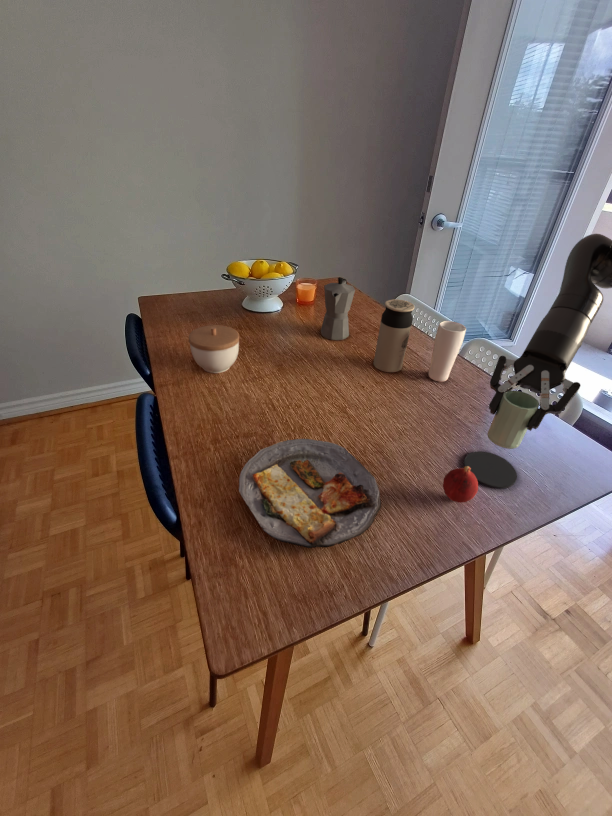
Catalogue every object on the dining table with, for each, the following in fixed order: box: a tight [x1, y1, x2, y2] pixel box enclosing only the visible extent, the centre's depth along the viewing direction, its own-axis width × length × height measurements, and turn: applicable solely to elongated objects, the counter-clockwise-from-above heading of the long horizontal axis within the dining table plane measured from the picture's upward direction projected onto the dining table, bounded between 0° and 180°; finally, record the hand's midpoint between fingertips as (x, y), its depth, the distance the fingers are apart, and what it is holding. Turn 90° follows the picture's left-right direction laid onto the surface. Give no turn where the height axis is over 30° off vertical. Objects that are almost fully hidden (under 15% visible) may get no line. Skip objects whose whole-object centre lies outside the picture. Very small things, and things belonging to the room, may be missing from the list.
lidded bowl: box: [188, 324, 240, 374], centre depth 103 cm, size 13×13×11 cm
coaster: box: [463, 450, 518, 490], centre depth 79 cm, size 10×10×1 cm
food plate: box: [238, 438, 382, 549], centre depth 71 cm, size 25×23×4 cm
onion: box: [442, 466, 479, 503], centre depth 70 cm, size 6×6×8 cm
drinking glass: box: [427, 320, 467, 383], centre depth 104 cm, size 7×7×15 cm
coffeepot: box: [320, 276, 356, 341], centre depth 122 cm, size 15×9×18 cm, turn 164°
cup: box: [486, 389, 540, 450], centre depth 72 cm, size 6×6×9 cm
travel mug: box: [373, 298, 416, 373], centre depth 106 cm, size 8×8×18 cm
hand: (510, 420), depth 71 cm, fingers closed on cup, 6 cm apart
